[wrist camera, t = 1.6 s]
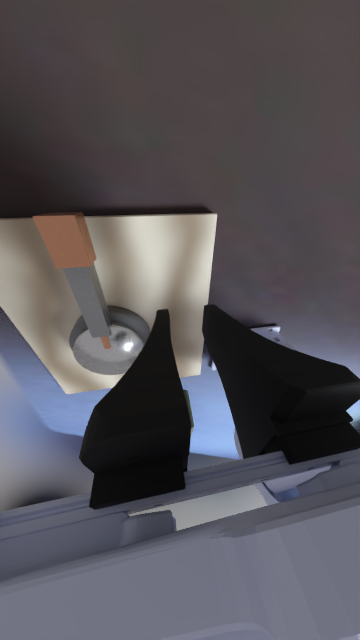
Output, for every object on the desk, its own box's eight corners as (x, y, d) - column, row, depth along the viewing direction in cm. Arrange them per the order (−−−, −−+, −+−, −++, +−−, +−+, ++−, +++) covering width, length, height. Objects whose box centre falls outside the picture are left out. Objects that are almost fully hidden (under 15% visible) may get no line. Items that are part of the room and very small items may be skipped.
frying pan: (120, 211, 12) (117, 214, 10) (148, 363, 21) (148, 376, 20) (4, 213, 11) (-17, 217, 9) (88, 371, 20) (84, 385, 19)
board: (213, 212, 15) (223, 216, 13) (198, 369, 28) (202, 382, 26) (-51, 219, 13) (-87, 225, 11) (69, 388, 26) (62, 404, 24)
